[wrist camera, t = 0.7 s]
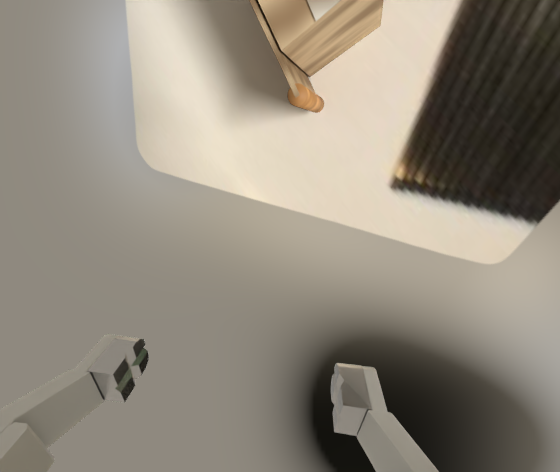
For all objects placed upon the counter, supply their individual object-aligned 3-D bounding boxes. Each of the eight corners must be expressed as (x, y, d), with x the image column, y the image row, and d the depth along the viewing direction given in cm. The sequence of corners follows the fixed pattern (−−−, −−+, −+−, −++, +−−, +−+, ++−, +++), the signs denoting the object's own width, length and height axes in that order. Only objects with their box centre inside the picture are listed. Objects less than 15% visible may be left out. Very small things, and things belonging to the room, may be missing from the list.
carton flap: (248, -29, 39) (187, -111, 26) (260, -42, 38) (202, -134, 25) (315, 116, 44) (293, 110, 30) (328, 108, 43) (310, 98, 29)
